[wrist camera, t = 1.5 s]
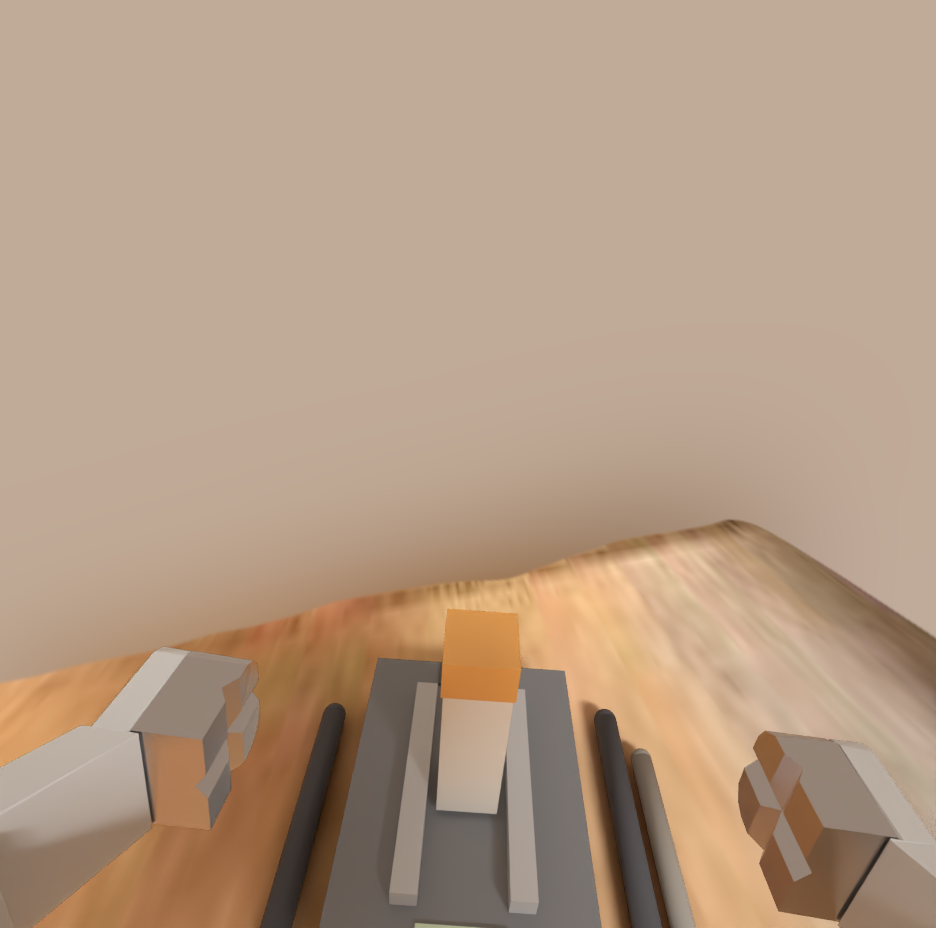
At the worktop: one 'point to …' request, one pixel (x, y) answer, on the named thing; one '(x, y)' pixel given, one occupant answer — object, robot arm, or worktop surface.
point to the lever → (476, 707)
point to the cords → (622, 811)
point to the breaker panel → (462, 818)
